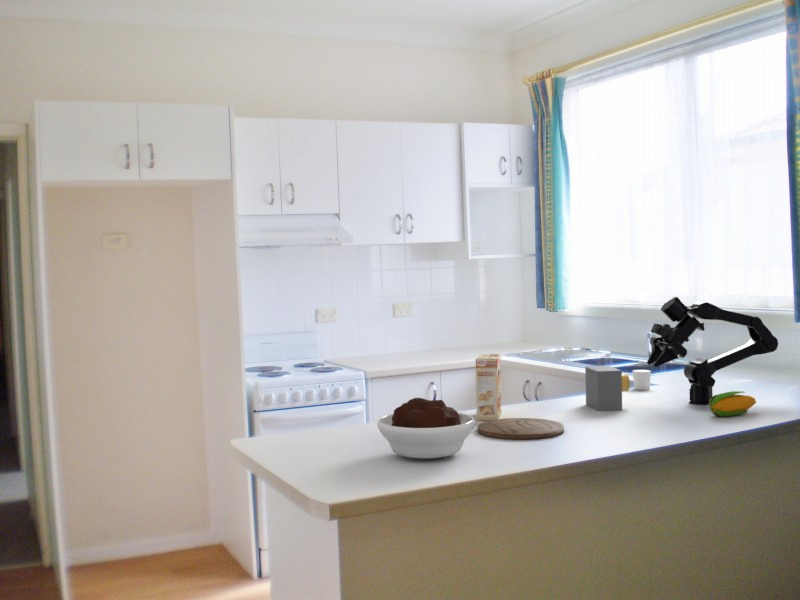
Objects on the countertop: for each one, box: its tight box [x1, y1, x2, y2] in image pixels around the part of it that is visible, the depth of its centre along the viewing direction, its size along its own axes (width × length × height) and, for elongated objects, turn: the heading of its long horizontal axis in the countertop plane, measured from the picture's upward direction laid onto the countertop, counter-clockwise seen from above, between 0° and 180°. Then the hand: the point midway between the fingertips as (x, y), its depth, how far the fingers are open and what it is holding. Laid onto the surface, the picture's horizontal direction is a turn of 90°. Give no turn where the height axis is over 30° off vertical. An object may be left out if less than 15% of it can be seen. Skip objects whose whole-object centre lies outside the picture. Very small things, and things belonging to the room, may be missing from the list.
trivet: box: [477, 417, 565, 441], centre depth 241 cm, size 25×25×2 cm
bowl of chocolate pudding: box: [377, 397, 476, 460], centre depth 213 cm, size 25×25×15 cm
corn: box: [708, 390, 757, 418], centre depth 259 cm, size 7×8×20 cm
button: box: [622, 373, 631, 393], centre depth 278 cm, size 6×6×6 cm
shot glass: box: [632, 369, 652, 391], centre depth 315 cm, size 7×7×7 cm
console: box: [584, 365, 623, 412], centre depth 277 cm, size 8×13×13 cm, turn 5°
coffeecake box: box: [475, 353, 502, 421], centre depth 266 cm, size 15×7×20 cm, turn 168°
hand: (651, 365), depth 278 cm, fingers open, 6 cm apart
